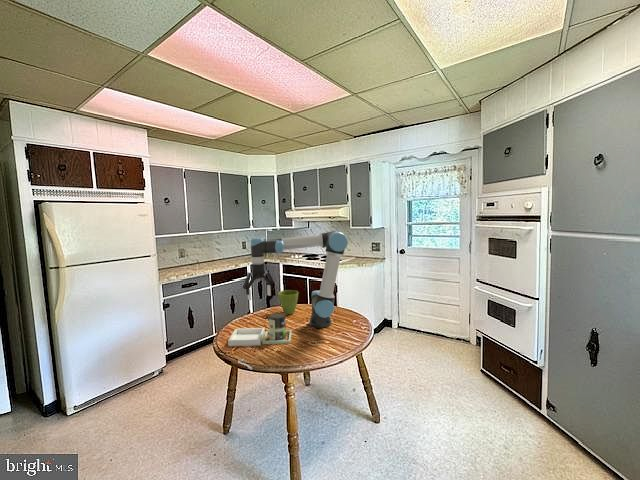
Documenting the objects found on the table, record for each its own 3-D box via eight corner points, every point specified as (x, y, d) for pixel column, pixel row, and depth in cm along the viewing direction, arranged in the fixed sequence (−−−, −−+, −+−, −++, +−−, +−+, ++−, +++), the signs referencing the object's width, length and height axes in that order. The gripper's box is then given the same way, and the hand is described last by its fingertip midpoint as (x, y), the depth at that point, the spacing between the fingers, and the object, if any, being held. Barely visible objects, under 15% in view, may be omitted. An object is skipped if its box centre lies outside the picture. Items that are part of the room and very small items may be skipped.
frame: (291, 332, 189) (291, 330, 189) (290, 343, 174) (290, 340, 173) (266, 333, 189) (266, 330, 189) (262, 344, 173) (262, 341, 173)
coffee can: (288, 335, 185) (288, 313, 184) (283, 342, 175) (282, 318, 174) (272, 334, 187) (272, 312, 186) (266, 341, 177) (265, 317, 176)
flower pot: (275, 313, 227) (274, 292, 226) (289, 308, 239) (288, 289, 237) (288, 317, 218) (288, 296, 216) (302, 312, 229) (302, 292, 228)
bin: (264, 333, 189) (264, 327, 188) (260, 345, 171) (260, 339, 171) (235, 334, 188) (235, 328, 188) (228, 346, 170) (228, 340, 170)
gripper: (272, 260, 192) (273, 292, 194) (236, 265, 176) (237, 300, 178) (278, 261, 187) (280, 294, 188) (241, 266, 171) (243, 303, 172)
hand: (259, 297), depth 183 cm, fingers open, 13 cm apart
